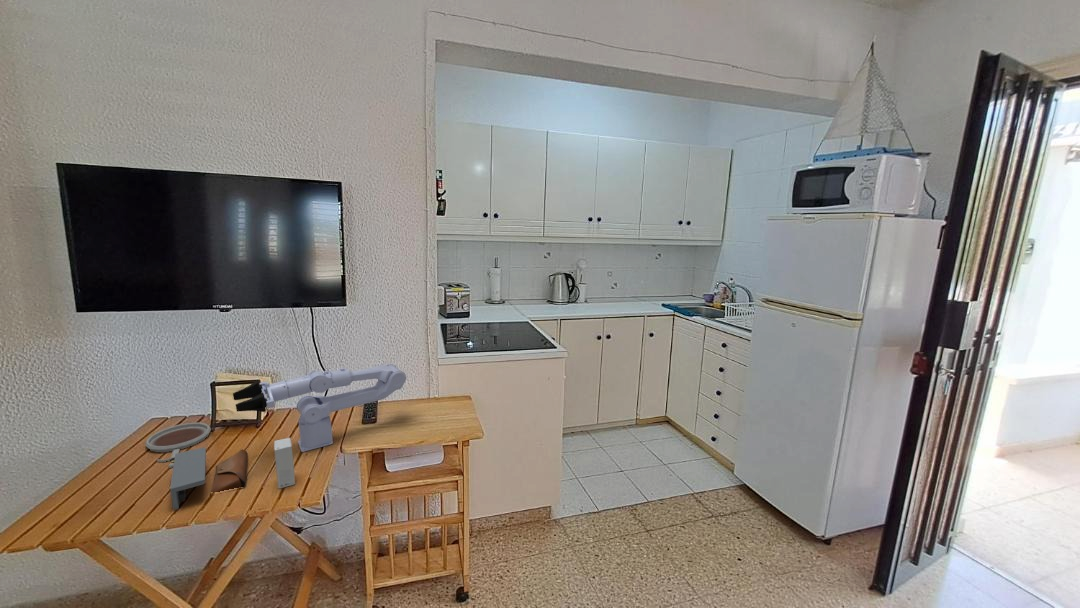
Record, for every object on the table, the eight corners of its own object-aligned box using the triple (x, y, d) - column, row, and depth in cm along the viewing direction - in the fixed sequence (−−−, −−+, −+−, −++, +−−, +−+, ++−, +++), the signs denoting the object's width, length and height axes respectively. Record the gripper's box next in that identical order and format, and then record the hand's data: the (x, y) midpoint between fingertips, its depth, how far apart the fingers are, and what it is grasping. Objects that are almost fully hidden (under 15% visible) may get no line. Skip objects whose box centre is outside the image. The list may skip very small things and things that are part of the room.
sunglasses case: (214, 464, 131) (225, 444, 132) (239, 469, 135) (250, 449, 136) (208, 497, 116) (221, 474, 117) (237, 501, 120) (249, 479, 121)
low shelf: (208, 465, 131) (205, 446, 129) (207, 500, 115) (204, 479, 114) (178, 472, 126) (175, 453, 125) (173, 510, 111) (170, 489, 110)
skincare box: (295, 484, 122) (291, 446, 120) (278, 489, 120) (273, 450, 118) (294, 473, 128) (290, 436, 125) (277, 478, 125) (273, 440, 123)
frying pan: (132, 471, 124) (149, 428, 146) (133, 480, 124) (150, 436, 147) (206, 454, 133) (212, 416, 155) (207, 462, 134) (213, 424, 156)
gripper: (280, 369, 140) (229, 380, 132) (289, 387, 129) (234, 401, 121) (283, 388, 142) (234, 400, 134) (292, 408, 132) (239, 422, 123)
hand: (234, 402), depth 128 cm, fingers open, 7 cm apart
